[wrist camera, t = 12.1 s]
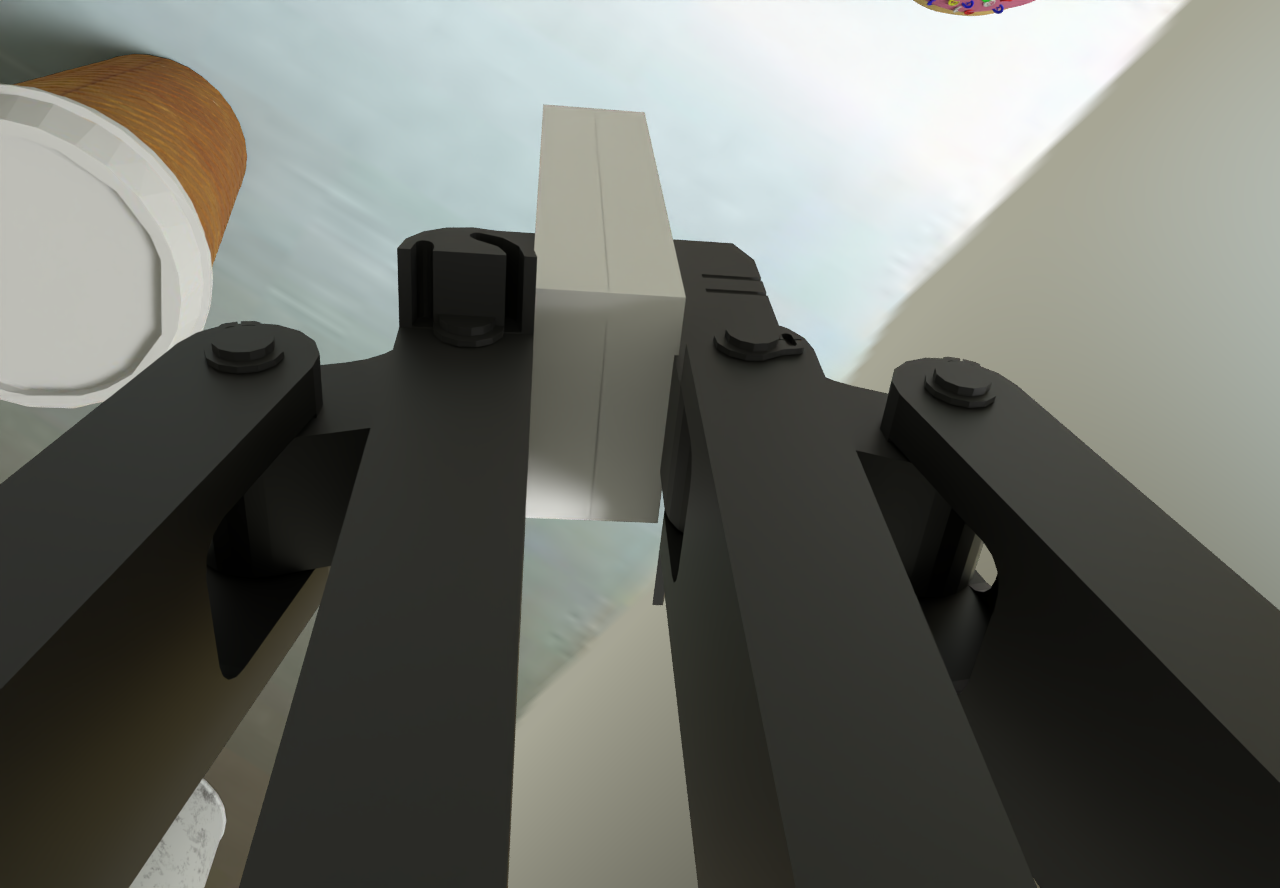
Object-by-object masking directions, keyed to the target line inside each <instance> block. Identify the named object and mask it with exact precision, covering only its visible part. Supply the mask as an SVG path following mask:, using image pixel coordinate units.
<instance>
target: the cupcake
mask: <svg viewBox="0 0 1280 888" xmlns="http://www.w3.org/2000/svg"><path fill="white" fill-rule="evenodd" d="M914 1H915V2H917V3H918V4H920V5H922V6H924V7H926V8H928V9H931V10H934V11H938V12H942V13H948V14H954V15H963V16H979V15H987V14H992V13H997V14H1000V13H1002V12H1003V10H1005V9H1008V8H1012V7H1017V6H1021V5H1024V4H1027V3H1030V2H1032V1H1035V0H914Z"/></svg>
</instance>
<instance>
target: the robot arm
mask: <svg viewBox="0 0 1280 888" xmlns="http://www.w3.org/2000/svg"><path fill="white" fill-rule="evenodd" d="M397 255H398V292H399V330H398V334H397V337H396V341H395V344H394V348H393V350H391V351H389V352H387V353H385V354H382V355H379V356H376V357H372V358H369V359H365V360H359V361H353V362H347V363H337V364H328V365H320V354H319V351H318V348H317V346H316V343H315V341H314V340H312V339H311V338H309V337H308V336H306V335H305V334H303V333H302V332H300V331H297V330H294V329H290V328H287V327H283V326H280V325H272V324H261V323H260V322H256V321H241V324H238V323H237V322H232V323H225V324H221V325H220V326H219V327H215V328H211V329H208V330H204V331H200V332H197V333H195V334H193V335H191V336H189V337H188V338H186V339H184V340H182V341H180V342H179V343H177V344H176V345H174V346H173V347H172V348H171V349H169V350H168V351H167V352H166V353H164V354H163V355H162V356H161V357H159V358H158V359H157V360H156V361H154V362H153V363H152V364H151V365H149V366H148V367H147V368H146V369H144V370H143V371H142V372H141V373H139V374H138V375H137V376H136V377H134V378H133V379H132V380H131V381H129V382H128V383H127V384H126V385H124V386H123V387H122V388H121V389H119V390H118V391H117V392H116V393H114V394H113V395H112V396H111V397H109V398H108V399H107V400H105V401H104V402H103V403H102V404H100V405H99V406H98V407H97V408H95V409H94V410H93V411H92V412H90V413H89V414H88V415H87V416H85V417H84V418H83V419H82V420H80V421H79V422H78V423H77V424H75V425H74V426H73V427H72V428H70V429H69V430H68V431H67V432H65V433H64V434H63V435H62V436H60V437H59V438H58V439H57V440H55V441H54V442H53V443H52V444H50V445H49V446H48V447H47V448H45V449H44V450H43V451H42V452H40V453H39V454H38V455H37V456H35V457H34V458H33V459H32V460H30V461H29V462H28V463H26V464H25V465H24V466H23V467H21V468H20V469H19V470H18V471H16V472H15V473H14V474H13V475H11V476H10V477H9V478H8V479H6V480H5V481H4V482H3V483H1V484H0V888H129V887H130V885H131V884H132V883H133V881H134V880H135V878H136V877H137V875H138V874H139V872H140V871H141V869H142V868H143V866H144V865H145V863H146V862H147V860H148V859H149V857H150V856H151V854H152V853H153V851H154V850H155V848H156V847H157V845H158V844H159V842H160V841H161V840H162V838H163V837H164V835H165V834H166V832H167V831H168V829H169V828H170V826H171V825H172V823H173V822H174V820H175V819H176V817H177V816H178V814H179V813H180V811H181V810H182V808H183V807H184V805H185V804H186V802H187V801H188V800H189V798H190V797H191V795H192V794H193V792H194V791H195V789H196V788H197V786H198V785H199V783H200V782H201V780H202V779H203V777H204V776H205V774H206V773H207V771H208V770H209V768H210V767H211V765H212V764H213V762H214V761H215V759H216V758H217V757H218V755H219V754H220V752H221V751H222V749H223V748H224V746H225V745H226V743H227V742H228V740H229V739H230V737H231V736H232V734H233V733H234V731H235V730H236V728H237V727H238V725H239V724H240V722H241V721H242V719H243V718H244V716H245V715H246V714H247V712H248V711H249V709H250V708H251V706H252V705H253V703H254V702H255V700H256V699H257V697H258V696H259V694H260V693H261V691H262V690H263V688H264V687H265V685H266V684H267V682H268V681H269V679H270V678H271V676H272V675H273V674H274V672H275V671H276V669H277V668H278V666H279V665H280V663H281V662H282V660H283V659H284V657H285V656H286V654H287V653H288V651H289V650H290V648H291V647H292V645H293V644H294V642H295V641H296V639H297V638H298V636H299V635H300V633H301V632H302V631H303V629H304V628H305V626H306V625H307V623H308V622H309V620H310V619H311V617H312V616H313V614H314V613H315V611H316V610H317V608H318V607H319V610H318V613H317V617H316V620H315V624H314V627H313V631H312V634H311V638H310V641H309V645H308V648H307V652H306V655H305V659H304V662H303V666H302V669H301V673H300V676H299V680H298V683H297V687H296V690H295V694H294V697H293V701H292V704H291V708H290V711H289V715H288V718H287V722H286V725H285V729H284V732H283V736H282V739H281V743H280V746H279V750H278V753H277V757H276V760H275V764H274V767H273V771H272V774H271V778H270V781H269V785H268V788H267V792H266V795H265V798H264V802H263V805H262V809H261V812H260V816H259V819H258V823H257V826H256V830H255V833H254V837H253V840H252V844H251V847H250V851H249V854H248V858H247V861H246V865H245V868H244V872H243V875H242V879H241V882H240V886H239V888H508V872H509V851H510V830H511V810H512V809H511V808H512V789H513V768H514V747H515V726H516V706H517V685H518V664H519V643H520V622H521V601H522V581H523V560H524V539H525V518H547V519H572V520H596V521H621V522H645V523H658V516H659V508H660V500H661V492H663V499H664V507H665V511H664V519H663V527H662V535H661V542H660V550H659V558H658V566H657V573H656V581H655V589H654V597H653V605H663V602H664V598H665V601H666V610H667V618H668V626H669V636H670V644H671V653H672V662H673V671H674V679H675V688H676V697H677V705H678V714H679V723H680V731H681V740H682V749H683V758H684V767H685V775H686V784H687V793H688V801H689V810H690V819H691V828H692V836H693V845H694V854H695V862H696V871H697V880H698V888H1037V886H1036V884H1035V881H1036V882H1037V884H1038V885H1039V886H1040V888H1280V611H1279V610H1278V609H1277V608H1276V607H1275V606H1274V605H1272V604H1271V603H1270V602H1269V601H1268V600H1267V599H1266V598H1264V597H1263V596H1262V595H1261V594H1260V593H1258V592H1257V591H1256V590H1255V589H1254V588H1253V587H1252V586H1250V585H1249V584H1248V583H1247V582H1246V581H1245V580H1243V579H1242V578H1241V577H1240V576H1239V575H1238V574H1236V573H1235V572H1234V571H1233V570H1232V569H1231V568H1229V567H1228V566H1227V565H1226V564H1225V563H1224V562H1222V561H1221V560H1220V559H1219V558H1218V557H1217V556H1215V555H1214V554H1213V553H1212V552H1211V551H1210V550H1208V549H1207V548H1206V547H1205V546H1204V545H1202V544H1201V543H1200V542H1199V541H1198V540H1197V539H1196V538H1194V537H1193V536H1192V535H1191V534H1190V533H1189V532H1187V531H1186V530H1185V529H1184V528H1183V527H1181V526H1180V525H1179V524H1178V523H1177V522H1176V521H1175V520H1173V519H1172V518H1171V517H1170V516H1169V515H1167V514H1166V513H1165V512H1164V511H1163V510H1162V509H1161V508H1159V507H1158V506H1157V505H1156V504H1155V503H1154V502H1152V501H1151V500H1150V499H1149V498H1147V496H1145V495H1144V494H1143V493H1142V492H1141V491H1140V490H1138V489H1137V488H1136V487H1135V486H1134V485H1133V484H1131V483H1130V482H1129V481H1128V480H1127V479H1125V478H1124V477H1123V476H1122V475H1121V474H1120V473H1119V472H1117V471H1116V470H1115V469H1114V468H1113V467H1112V466H1110V465H1109V464H1108V463H1107V462H1105V460H1103V459H1102V458H1101V457H1100V456H1099V455H1098V454H1096V453H1095V452H1094V451H1093V450H1092V449H1090V448H1089V447H1088V446H1087V445H1086V444H1085V443H1084V442H1082V441H1081V440H1080V439H1079V438H1078V437H1077V436H1075V435H1074V434H1073V433H1072V432H1071V431H1070V430H1068V429H1067V428H1066V427H1065V426H1063V424H1061V423H1060V422H1059V421H1058V420H1057V419H1056V418H1054V417H1053V416H1052V415H1051V414H1050V413H1049V412H1047V411H1046V410H1045V409H1044V408H1042V406H1040V405H1039V404H1038V403H1037V402H1036V401H1035V400H1033V399H1032V398H1031V397H1030V396H1029V395H1027V394H1026V393H1025V392H1024V391H1023V390H1022V389H1021V388H1019V387H1018V386H1017V385H1015V384H1014V383H1012V382H1011V381H1009V380H1008V379H1006V378H1005V377H1003V376H1001V375H1000V374H999V373H996V372H994V371H991V370H989V369H986V368H983V367H981V366H980V364H978V363H976V362H972V361H968V360H964V359H963V362H962V361H960V359H959V358H952V357H944V358H943V359H942V358H941V359H940V358H923V359H918V360H913V361H907V362H905V363H904V364H902V365H900V366H899V367H897V368H896V369H894V373H893V377H892V381H891V385H890V389H889V393H888V394H887V393H882V392H878V391H873V390H869V389H864V388H859V387H854V386H851V385H847V384H844V383H840V382H837V381H833V380H831V379H828V378H826V377H825V375H824V373H823V370H822V368H821V366H820V363H819V361H818V358H817V356H816V353H815V351H814V349H813V348H812V347H811V346H810V344H809V343H808V342H807V341H806V339H805V338H803V337H801V336H800V335H798V334H796V333H795V332H793V331H791V330H790V329H788V328H785V327H782V326H779V325H778V322H777V320H776V317H775V314H774V312H773V309H772V306H771V304H770V301H769V298H768V296H766V290H765V288H764V285H763V282H762V281H761V277H760V274H759V272H758V269H757V266H756V264H755V261H754V260H753V259H752V258H751V257H749V256H748V255H747V254H746V253H744V252H743V251H742V250H740V249H739V248H738V247H736V246H735V245H734V244H733V243H718V242H703V241H688V240H673V238H672V233H671V229H670V224H669V220H668V215H667V211H666V207H665V202H664V198H663V193H662V189H661V184H660V180H659V175H658V171H657V166H656V162H655V157H654V153H653V148H652V144H651V139H650V135H649V131H648V126H647V122H646V117H645V113H644V112H632V111H619V110H606V109H594V108H581V107H568V106H555V105H543V119H542V135H541V150H540V166H539V182H538V197H537V213H536V228H535V233H521V232H506V231H494V230H487V229H480V228H473V227H471V228H442V229H436V230H429V231H423V232H421V233H419V234H416V235H414V236H411V237H409V238H406V239H405V240H404V241H403V243H402V244H401V245H400V246H399V247H398V248H397ZM983 544H985V545H986V547H987V548H988V550H989V551H990V553H991V554H992V556H993V559H994V562H995V565H996V568H997V571H998V574H997V577H996V580H995V582H994V583H993V585H992V587H991V586H990V585H989V584H988V583H986V581H985V580H984V579H983V578H982V577H981V576H980V575H979V573H978V572H977V571H976V570H975V568H976V565H977V562H978V559H979V556H980V553H981V550H982V547H983ZM319 605H320V606H319ZM1033 878H1034V879H1035V881H1034V879H1033Z"/></svg>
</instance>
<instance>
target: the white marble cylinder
mask: <svg viewBox="0 0 1280 888" xmlns="http://www.w3.org/2000/svg"><path fill="white" fill-rule="evenodd" d="M225 824H226V815H225V809H224V805H223V803H222V801H221V799H220V797H219V795H218V793H217V792H216V791H215V790H214V789H213V788H212V786H211V785H210V784H209V783H208V782H207V781H206V780H205V779H202V780H201V782H200V783H199V785H198V786H197V788H196V789H195V791H194V792H193V794H192V795H191V797H190V798H189V800H188V801H187V802H186V804H185V805H184V807H183V808H182V810H181V811H180V813H179V814H178V816H177V817H176V819H175V820H174V822H173V823H172V825H171V826H170V828H169V829H168V831H167V832H166V834H165V835H164V837H163V838H162V840H161V841H160V842H159V844H158V845H157V847H156V848H155V850H154V851H153V853H152V854H151V856H150V857H149V859H148V860H147V862H146V863H145V865H144V866H143V868H142V869H141V871H140V872H139V874H138V875H137V877H136V878H135V880H134V881H133V883H132V884H131V885H130V887H129V888H204V887H205V883H206V880H207V877H208V874H209V871H210V868H211V865H212V862H213V859H214V856H215V853H216V850H217V846H218V843H219V841H220V839H221V838H222V836H223V834H224V829H225Z"/></svg>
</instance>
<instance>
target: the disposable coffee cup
mask: <svg viewBox="0 0 1280 888" xmlns="http://www.w3.org/2000/svg"><path fill="white" fill-rule="evenodd" d="M246 161H247V153H246V145H245V139H244V136H243V132H242V129H241V126H240V123H239V121H238V119H237V118H236V116H235V114H234V112H233V110H232V108H231V106H230V105H229V104H228V103H227V101H226V100H225V99H224V97H223V96H222V95H221V94H220V92H219V91H218V90H217V89H215V88H214V87H213V86H212V85H211V84H210V83H209V82H208V81H206V80H205V79H204V78H203V77H202V76H200V75H199V74H197V73H196V72H194V71H193V70H191V69H190V68H188V67H186V66H184V65H181V64H179V63H177V62H175V61H172V60H170V59H165V58H161V57H156V56H152V55H142V54H131V55H124V56H117V57H114V58H112V59H108V60H105V61H101V62H98V63H93V64H89V65H86V66H82V67H79V68H74V69H71V70H66V71H62V72H59V73H55V74H52V75H48V76H45V77H40V78H36V79H33V80H29V81H25V82H21V83H17V84H14V85H8V84H0V399H1V400H5V401H9V402H13V403H17V404H20V405H24V406H28V407H52V408H77V407H81V406H86V405H90V404H94V403H98V402H103V401H105V400H107V399H108V398H109V397H111V396H112V395H113V394H114V393H116V392H117V391H118V390H119V389H121V388H122V387H123V386H124V385H126V384H127V383H128V382H129V381H131V380H132V379H133V378H134V377H136V376H137V375H138V374H139V373H141V372H142V371H143V370H144V369H146V368H147V367H148V366H149V365H151V364H152V363H153V362H154V361H156V360H157V359H158V358H159V357H161V356H162V355H163V354H164V353H166V352H167V351H168V350H169V349H171V348H172V347H173V346H174V345H176V344H177V343H179V342H180V341H182V340H184V339H186V338H188V337H189V336H191V335H193V334H195V333H197V332H200V331H203V329H204V325H205V322H206V319H207V316H208V312H209V309H210V306H211V297H212V285H213V274H212V265H213V262H214V261H215V257H216V253H217V252H218V249H219V245H220V243H221V241H222V238H223V234H224V231H225V229H226V226H227V223H228V220H229V217H230V214H231V211H232V209H233V206H234V203H235V200H236V197H237V194H238V191H239V189H240V187H241V184H242V181H243V177H244V175H245V170H246Z"/></svg>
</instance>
